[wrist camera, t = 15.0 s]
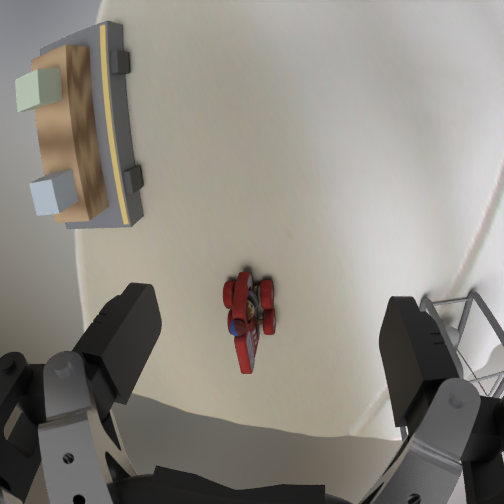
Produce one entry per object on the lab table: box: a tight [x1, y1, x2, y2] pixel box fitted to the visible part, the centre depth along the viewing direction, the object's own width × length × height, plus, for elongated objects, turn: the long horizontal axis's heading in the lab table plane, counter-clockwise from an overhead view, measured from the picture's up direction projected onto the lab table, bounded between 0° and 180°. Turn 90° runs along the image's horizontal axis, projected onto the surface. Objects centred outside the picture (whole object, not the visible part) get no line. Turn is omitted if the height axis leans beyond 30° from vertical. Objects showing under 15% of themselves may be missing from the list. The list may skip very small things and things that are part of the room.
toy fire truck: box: [223, 272, 276, 374], centre depth 43 cm, size 7×12×10 cm, turn 6°
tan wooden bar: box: [31, 45, 109, 223], centre depth 32 cm, size 22×6×5 cm, turn 3°
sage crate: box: [15, 68, 62, 112], centre depth 25 cm, size 4×4×4 cm
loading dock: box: [40, 21, 143, 229], centre depth 36 cm, size 28×13×4 cm, turn 3°
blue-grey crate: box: [30, 169, 79, 215], centre depth 31 cm, size 4×4×4 cm
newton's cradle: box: [400, 291, 504, 441], centre depth 42 cm, size 30×10×18 cm, turn 9°
